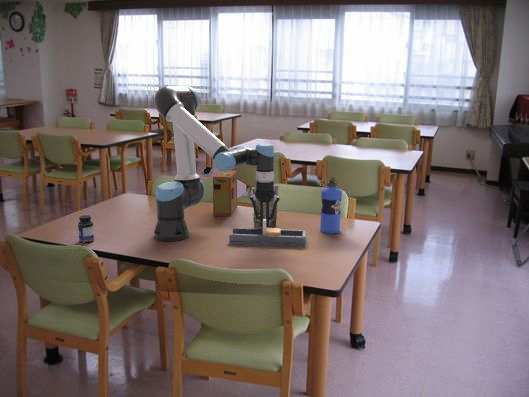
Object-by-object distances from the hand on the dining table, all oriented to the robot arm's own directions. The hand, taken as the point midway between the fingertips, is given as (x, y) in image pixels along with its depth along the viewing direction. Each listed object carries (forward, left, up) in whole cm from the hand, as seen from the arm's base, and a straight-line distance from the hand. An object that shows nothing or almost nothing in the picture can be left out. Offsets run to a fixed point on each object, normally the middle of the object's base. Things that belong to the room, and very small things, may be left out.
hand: (264, 234), depth 230 cm
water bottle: (+28, +18, -3) cm, 34 cm away
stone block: (-2, +20, -3) cm, 20 cm away
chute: (+1, 0, -3) cm, 3 cm away
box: (-25, +45, -3) cm, 52 cm away
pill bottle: (-76, -9, -3) cm, 76 cm away
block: (+4, 0, -2) cm, 4 cm away
